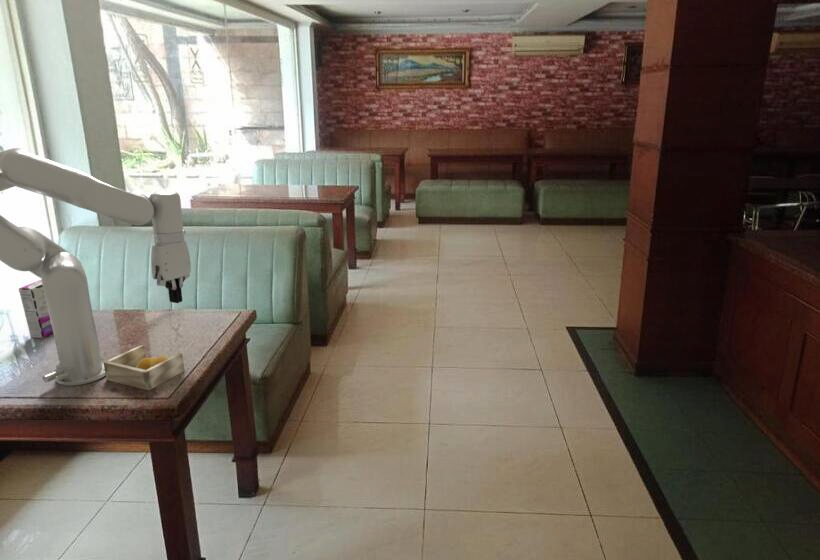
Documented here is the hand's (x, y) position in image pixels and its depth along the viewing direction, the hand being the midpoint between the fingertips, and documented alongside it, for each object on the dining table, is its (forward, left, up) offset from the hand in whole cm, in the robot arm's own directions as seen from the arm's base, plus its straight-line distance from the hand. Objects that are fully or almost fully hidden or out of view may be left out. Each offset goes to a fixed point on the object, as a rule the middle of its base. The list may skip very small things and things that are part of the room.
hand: (176, 301), depth 162 cm
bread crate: (-14, -2, -16) cm, 21 cm away
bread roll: (-12, -1, -16) cm, 20 cm away
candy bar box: (-4, +52, -16) cm, 54 cm away
